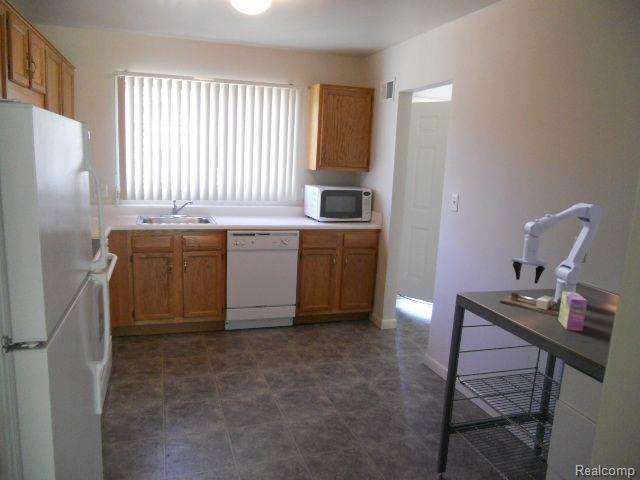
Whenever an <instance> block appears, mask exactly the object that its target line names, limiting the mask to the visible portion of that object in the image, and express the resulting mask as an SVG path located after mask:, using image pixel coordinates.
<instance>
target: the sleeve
mask: <svg viewBox="0 0 640 480" xmlns="http://www.w3.org/2000/svg"><path fill="white" fill-rule="evenodd" d="M536 299H537V302H536V308H541V309H545V310H547V309H548V308H550V307H549V302H550V300H552V301H554V299H555V296H548V295H542V296H539V297H538V298H536Z"/></svg>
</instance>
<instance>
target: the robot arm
mask: <svg viewBox="0 0 640 480" xmlns="http://www.w3.org/2000/svg"><path fill="white" fill-rule="evenodd" d="M603 215H604V212H603V209H602V208H601V206H600V205H599V204H591V203H585V202H579V203H577V204H574V205H573V206H571V207H569V208H567V209H565V210H563V211H561V212H559V213H557V214H547V213H546V214H545V215H544V217H541V218H539V219H537V218H536V219H534V221H529V222H527V223H525V225H524V227H522V231H523V233H524V242H523V252H522V257H511V260H510V262H511V263H512V267H513V269H514V272H515V273H514V274H515V279H516V280H517V281H518V280H520V279H521V271H522V266H523V265H529V266H532V267H535V277H534V284H538V283H539V281H540V277H541V276H542V275H543V272H544V271H545V270H546V269H547V268H548V267H549V262H545V261H544V262H543V261H540V260H538V256H539V255H538V254H539V247H540V246H539V245H540V238H541V236H543V234H544V233H545V232H547V231H549V230H551V229H554V228H556V227H557V226H558V224H559V223H561V222H563V221H568V220H570V219H573V218H575V217H577V219H578V220H579V221H580V222H581V224H582V226H583V228H582V229H581V231H580V233H579V235H578V237H577V239H576V241H575V243H574V244H573V247H572V249H571V250H570V252H569V255H568V257H567V258H566V259H565V260H563V261H561V262H560V264H559V265H558V266H557V267H556V268H555V270H554V276H555V278H556V287H555V288H556V289H555V293H554V303H557V301H558V299H559V298H560V297H561V298H562V292H563V291H564V292H575V293H577V292H576V291H577V287H576V286H577V284H578V283H579V282H580V280H581V274H582V272H583V269H582V266H581V264H582V262H583V260H584V258H585V256H586V254H587V252H588V250H589V248H590V246H591V245H592V242H593V241H594V238H595V236H596V234H597V233H598V231H599V229H600V224H601V218H602V217H603Z"/></svg>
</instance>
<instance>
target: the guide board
mask: <svg viewBox="0 0 640 480" xmlns="http://www.w3.org/2000/svg"><path fill="white" fill-rule="evenodd" d="M517 295H519V291H515V290H514V291H512V292H511V295H508V296H506V297H504V298H502V299H500V300H499V303H500V304H505V305H508V306H512V307H516V308H521V309H523V310H524V309H525V310H530V311H532V312H533V311H534V312H537V313H542V314H546V315H549V316H550V315H551V316H555V317H558V318H559V312H558V311H556V308H557V307H556V306H554V307H553V308H552V307H550V308H548V309H547V310H545V309H541V308H536V302H534V301H530V300H525V299H521V298H517Z"/></svg>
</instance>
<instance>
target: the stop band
mask: <svg viewBox="0 0 640 480" xmlns="http://www.w3.org/2000/svg"><path fill="white" fill-rule="evenodd" d="M553 303H555V302H554V301H552V300H550V302H549V307H552V308H553V307H554V306H553Z"/></svg>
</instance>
